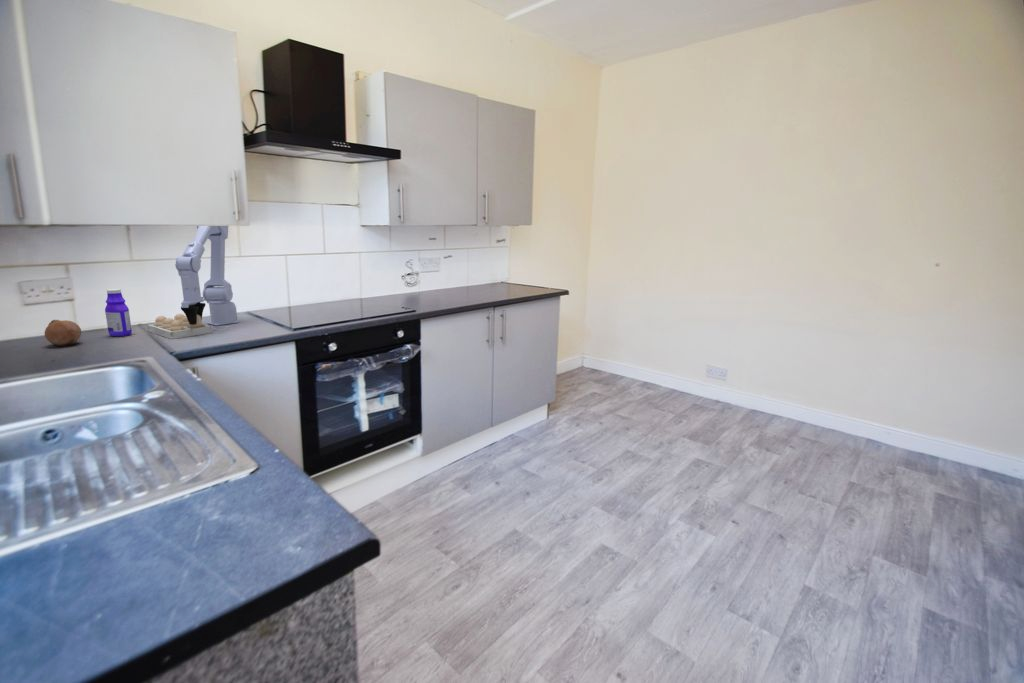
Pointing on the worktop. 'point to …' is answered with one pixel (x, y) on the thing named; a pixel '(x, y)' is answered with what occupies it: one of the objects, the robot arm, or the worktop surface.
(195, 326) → the egg
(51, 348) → the worktop surface
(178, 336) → the carton
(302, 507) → the worktop surface
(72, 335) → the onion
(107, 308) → the bottle
